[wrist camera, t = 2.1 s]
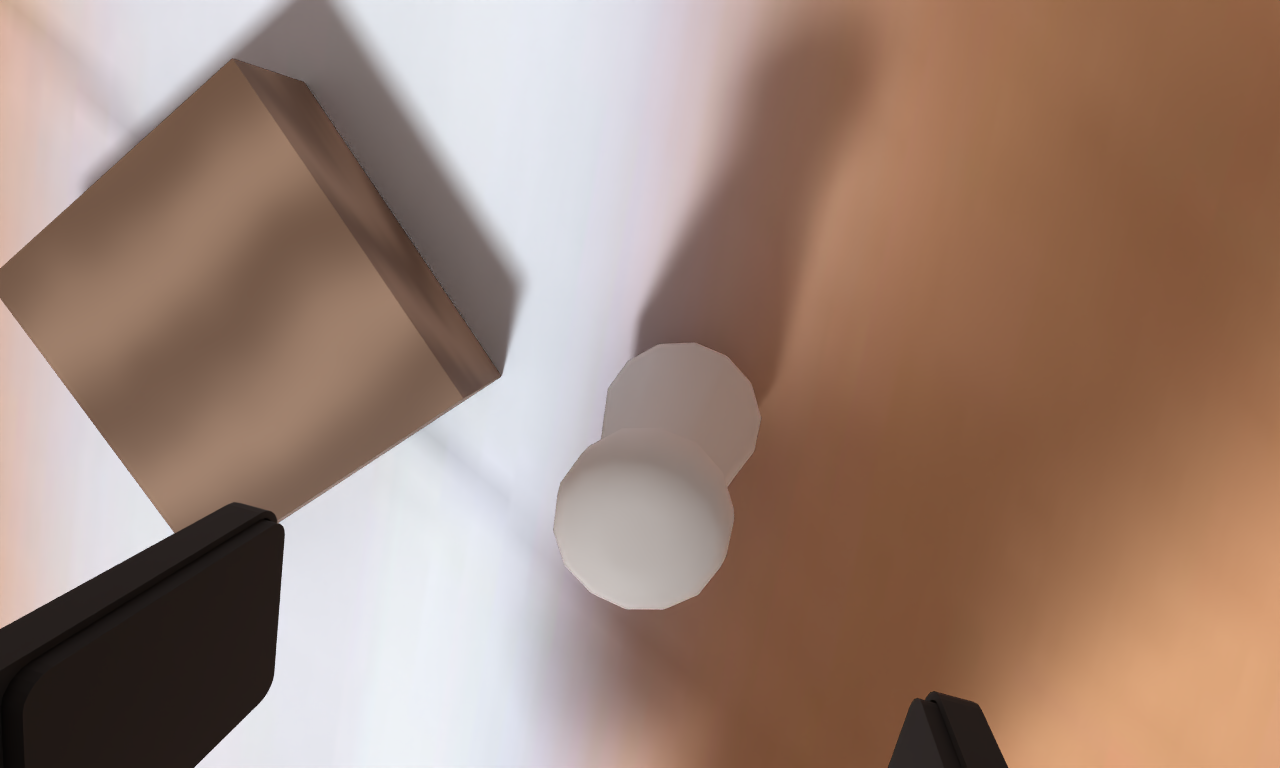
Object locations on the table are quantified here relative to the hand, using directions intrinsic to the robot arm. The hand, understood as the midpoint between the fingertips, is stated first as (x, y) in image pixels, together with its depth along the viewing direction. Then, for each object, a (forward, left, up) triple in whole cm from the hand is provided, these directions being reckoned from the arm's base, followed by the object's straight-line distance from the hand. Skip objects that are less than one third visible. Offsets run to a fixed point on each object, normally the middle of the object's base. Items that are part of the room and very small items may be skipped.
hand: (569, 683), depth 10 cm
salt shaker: (0, 0, -19) cm, 19 cm away
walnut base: (+12, +13, -19) cm, 26 cm away
